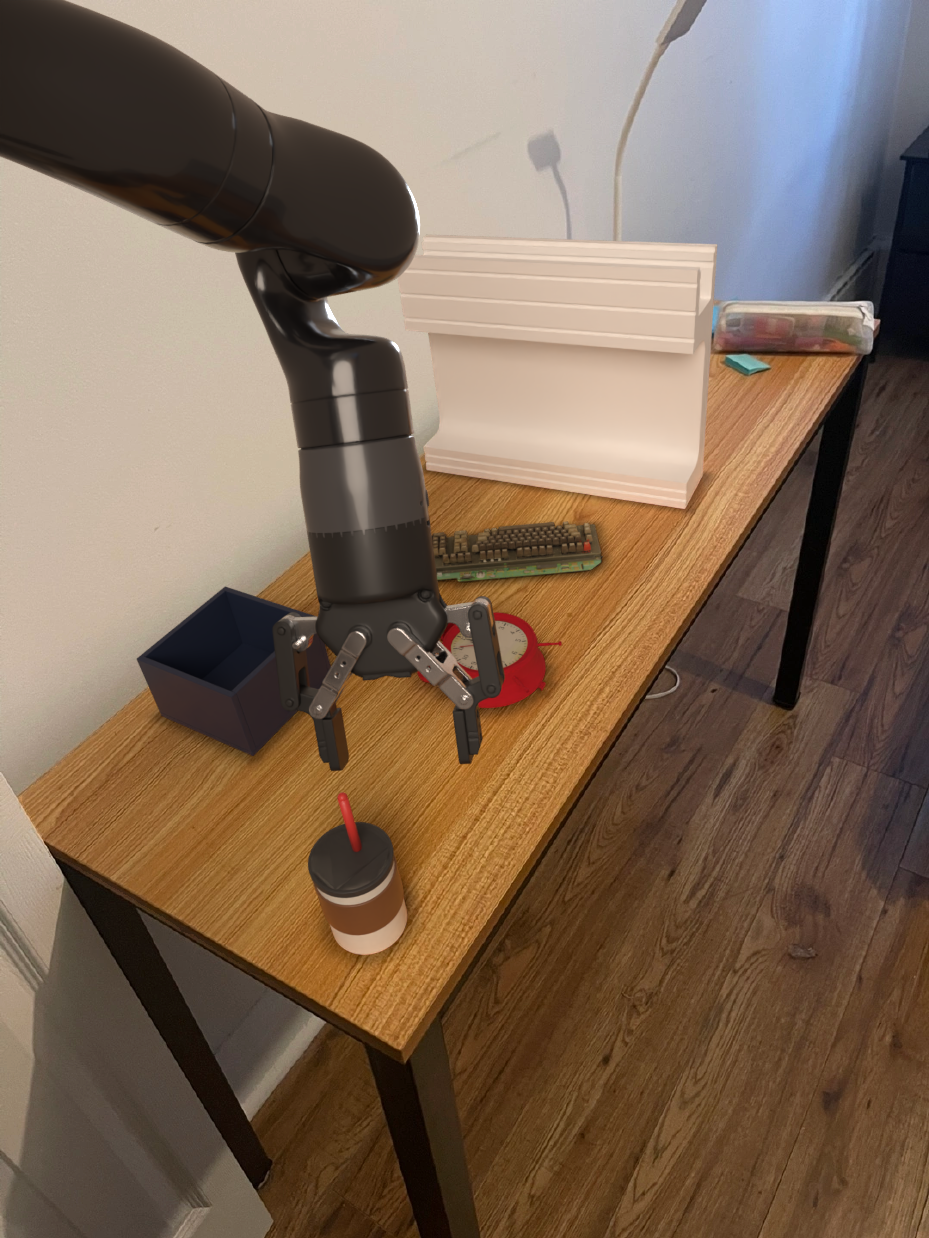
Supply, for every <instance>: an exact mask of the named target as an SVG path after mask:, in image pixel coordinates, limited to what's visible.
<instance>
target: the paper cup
mask: <svg viewBox="0 0 929 1238" xmlns="http://www.w3.org/2000/svg"><path fill="white" fill-rule="evenodd" d="M336 799H337V804H338V806H339V810H340V812H341V815H342V819H343V823H341V824H338V825H337V826H334V827H332V828H331V829H328V830H327V831H326V832H325V833H323V834H322V835H320V837H319V838H318V839H317V840H316V841H315V843H314V844H313V845H312V847H311V850H310V852H309V854H308V860H307V870H308V873H309V876H310V879H311V881H312V884H313V887H314V891H315V894H316V896H317V899H318V902H319V904H320V908H321V911H322V913H323V915H324V919H325V920H326V921H327V923H328V924H329V926H330V927H329V928H330V929H331V932H332V934H333V938H334V940H335V942H336V943H337V944H338V945H339V946H340V947H341V948H342V949H344V950H346V951H347V952H349V953H351V954H355V955H360V956H361V955H365V956H367V955H373V954H376V953H377V954H378V953H381V952H383V951H385V950H387V949H388V948H390V947H391V946H393V944H395V943H396V942H397V941H398V940H399V939H400V937H401V936H402V934H403V933H404V931H405V928H406V927H407V922H408V909H407V906H406V902H405V901H406V900H405V891H404V885H403V882H402V877H401V874H400V870H399V866H398V861H397V857H396V854H395V849H394V846H393V842H392V840H391V838H390V836H389V835H388V833H387V832H386V831H385V830H384V829H382V828H381V827H379V826H377V825H376V824H372V823H370V822H365V821H356V820H355V817H354V814H353V810H352V807H351V803H350V800H349V796H348V793H346V792H343V791H342V792H339V793H338V794H337V797H336Z"/></svg>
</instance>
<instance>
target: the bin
mask: <svg viewBox="0 0 929 1238" xmlns="http://www.w3.org/2000/svg"><path fill="white" fill-rule="evenodd" d="M291 612H295V613H298V614H299V615H300V616H301V617H318V615H314V614H311V613H308V612H304V611H302V610H299V609H296V608H292V607H289V606H286V605H283V604H280V603H277V602H274V601H272V600H268V599H265V598H262V597H259V596H255V595H253V594H249V593H247V592H243V591H240V590H238V589H235V588H232V587H228V586H223V587H222V588H221V589H220V590H219V591H217V592H216V593H215V594H214V595H212V596H211V597H210V598H209V599H207V600H206V601H205V602H204V603H203V604H202V605H200V606H199V607H198V608H197V609H195V610H194V611H193V612H192V613H190V614H189V615H188V616H187V617H186V618H184V619H183V620H181V622H180V623H178V624H177V625H175V626H174V628H172V629H170V631H168V632H167V633H166V634H165V635H163V636H162V637H161V638H160V639H159V640H157V641H156V642H155V643H154V644H152V645H151V646H150V647H149V648H147V649H146V650H145V651H143V653H141V654H140V655H139V656H138V657H137V658H136V661H137V664H138V666H139V669H140V671H141V673H142V675H143V677H144V679H145V681H146V685H147V686H148V688H149V691H150V693H151V695H152V698H153V700H154V702H155V704H156V707H157V710H159V714H160V716H161V717H163V718H164V719H167V720H170V721H172V722H174V723H176V724H179V725H181V726H183V727H186V728H188V729H190V730H192V731H194V732H196V733H199V734H201V735H204V736H205V737H208V738H211V739H213V740H215V741H218V742H220V743H222V744H223V745H227V746H229V747H231V748H233V749H236V750H238V751H240V752H243V753H245V754H247V755H249V756H251V757H254V756H256V754H257V753H258V752H260V751H261V749H262V748H263V747H264V746H265V745H266V744H267V743H268V742H269V741H270V740H272V738H273V737H274V736H275V734H277V733H278V732H279V731H280V730H281V729H282V728H283V727H284V725H285V724H287V722H289V720H290V719H291V718H292V717H294V715H296V713H297V712H299V711H298V710H295V711H286V710H285V709H284V708H283V707H282V706H281V701H280V693H279V684H278V675H277V666H276V658H275V649H274V640H273V632H272V628H273V626H274V624H275V623H277V622H278V621H279V620H281V619H282V618H283V617H285V616H286V615H287V614H289V613H291ZM306 656H307V665H308V674H309V684H310V687H311V688H315V689H320V687H321V685H322V682H323V680H324V678H325V677H326V675H327V673H328V671H329V670H330V668H331V666H332V664H331V662H330V661H331V660H330V658H329V654H328V650H327V646H326V645H325V644H324V643H323V642H322V641H321V639H320V638H319V637H318V635H317V634H314V635H313V641H312V644H311V645H310V646H309V647H308V648H307V649H306Z"/></svg>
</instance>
